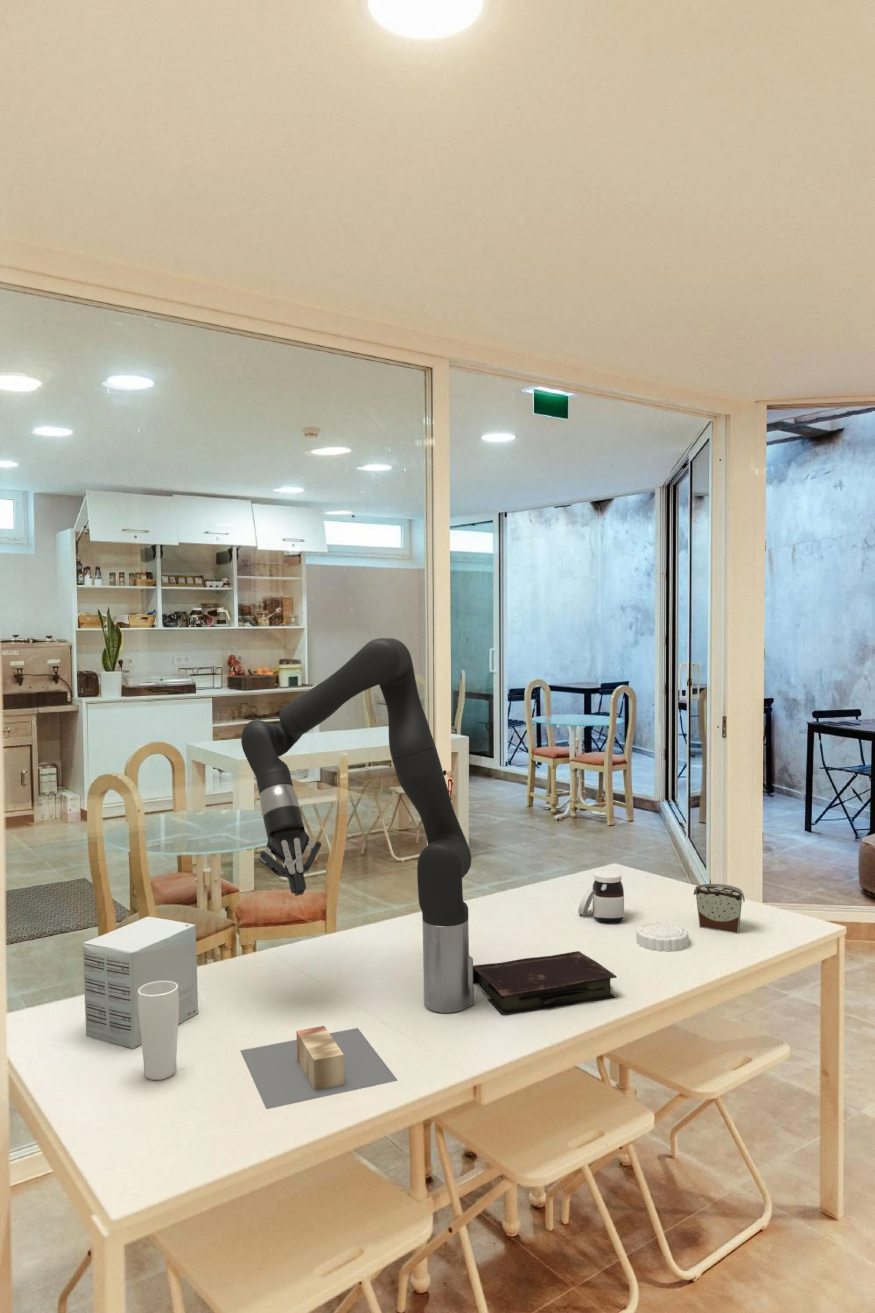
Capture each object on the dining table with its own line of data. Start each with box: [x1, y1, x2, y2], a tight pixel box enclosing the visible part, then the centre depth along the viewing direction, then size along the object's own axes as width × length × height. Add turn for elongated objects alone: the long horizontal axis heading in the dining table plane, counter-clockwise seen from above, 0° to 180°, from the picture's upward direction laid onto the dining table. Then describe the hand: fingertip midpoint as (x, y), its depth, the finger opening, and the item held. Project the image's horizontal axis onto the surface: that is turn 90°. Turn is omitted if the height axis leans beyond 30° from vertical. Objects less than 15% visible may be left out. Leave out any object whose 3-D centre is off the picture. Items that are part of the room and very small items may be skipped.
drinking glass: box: [138, 981, 179, 1081], centre depth 159 cm, size 7×7×15 cm
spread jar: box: [577, 870, 625, 924], centre depth 238 cm, size 12×11×12 cm
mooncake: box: [635, 922, 689, 953], centre depth 219 cm, size 12×12×4 cm
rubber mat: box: [240, 1027, 398, 1110], centre depth 160 cm, size 22×22×1 cm
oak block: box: [295, 1025, 344, 1090], centre depth 158 cm, size 5×5×12 cm
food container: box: [693, 883, 746, 934], centre depth 229 cm, size 12×6×10 cm, turn 58°
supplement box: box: [82, 916, 199, 1050], centre depth 179 cm, size 17×13×18 cm
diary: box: [473, 950, 618, 1016], centre depth 192 cm, size 19×25×5 cm
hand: (299, 894), depth 180 cm, fingers closed
